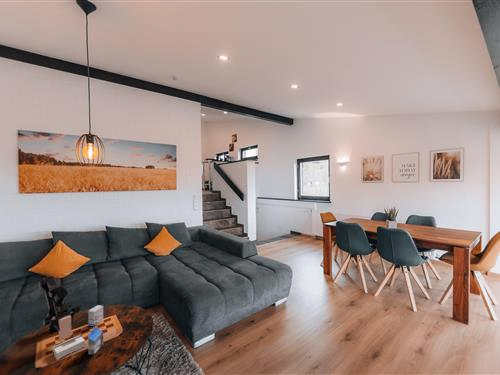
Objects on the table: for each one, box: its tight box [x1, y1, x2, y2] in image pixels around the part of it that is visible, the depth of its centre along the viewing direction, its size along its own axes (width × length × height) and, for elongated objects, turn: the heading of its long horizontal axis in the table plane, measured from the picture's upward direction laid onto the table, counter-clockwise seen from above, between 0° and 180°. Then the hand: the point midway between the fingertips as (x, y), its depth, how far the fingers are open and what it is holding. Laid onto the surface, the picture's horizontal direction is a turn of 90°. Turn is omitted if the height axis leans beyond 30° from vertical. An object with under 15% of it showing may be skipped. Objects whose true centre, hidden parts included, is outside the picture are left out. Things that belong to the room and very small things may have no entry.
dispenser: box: [52, 334, 86, 361], centre depth 144 cm, size 8×14×5 cm, turn 143°
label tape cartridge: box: [87, 325, 104, 356], centre depth 144 cm, size 9×4×12 cm, turn 1°
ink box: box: [87, 304, 104, 326], centre depth 170 cm, size 9×5×12 cm, turn 168°
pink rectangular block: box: [58, 315, 72, 342], centre depth 148 cm, size 2×6×13 cm, turn 143°
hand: (65, 328), depth 147 cm, fingers closed on pink rectangular block, 6 cm apart
